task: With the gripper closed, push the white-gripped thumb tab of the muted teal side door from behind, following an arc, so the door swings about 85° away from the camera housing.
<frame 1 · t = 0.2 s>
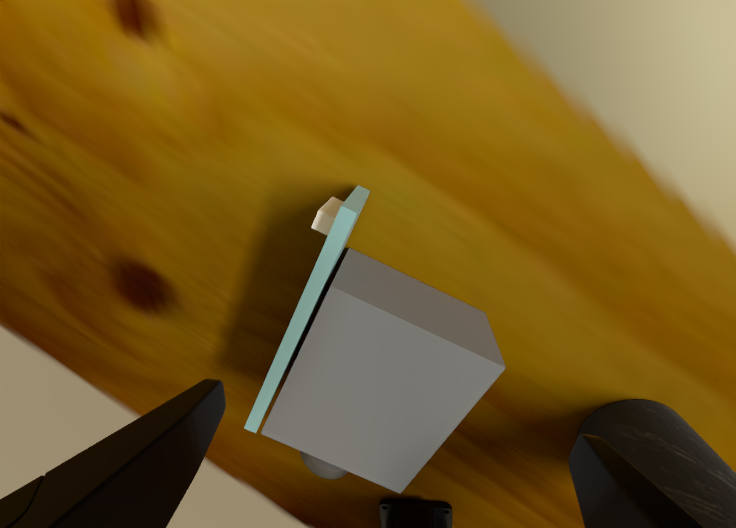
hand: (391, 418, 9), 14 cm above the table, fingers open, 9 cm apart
travel mug: (627, 433, 25), on the table
camera housing: (378, 346, 25), on the table
side door: (297, 310, 21), point 3 cm above the table, hinge at 0.0°
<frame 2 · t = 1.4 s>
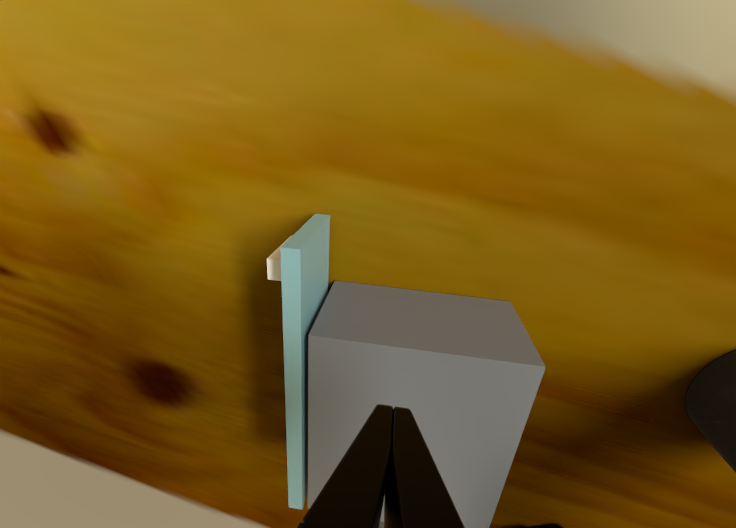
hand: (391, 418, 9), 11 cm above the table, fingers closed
camera housing: (408, 373, 22), on the table
side door: (299, 366, 19), point 3 cm above the table, hinge at 0.0°
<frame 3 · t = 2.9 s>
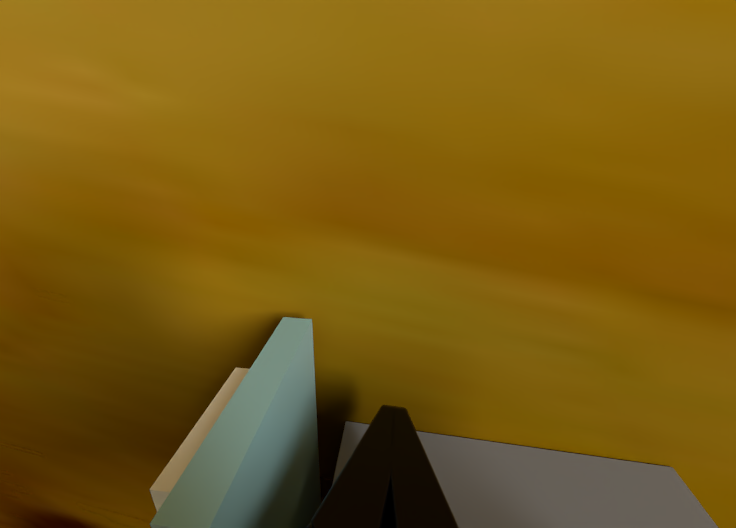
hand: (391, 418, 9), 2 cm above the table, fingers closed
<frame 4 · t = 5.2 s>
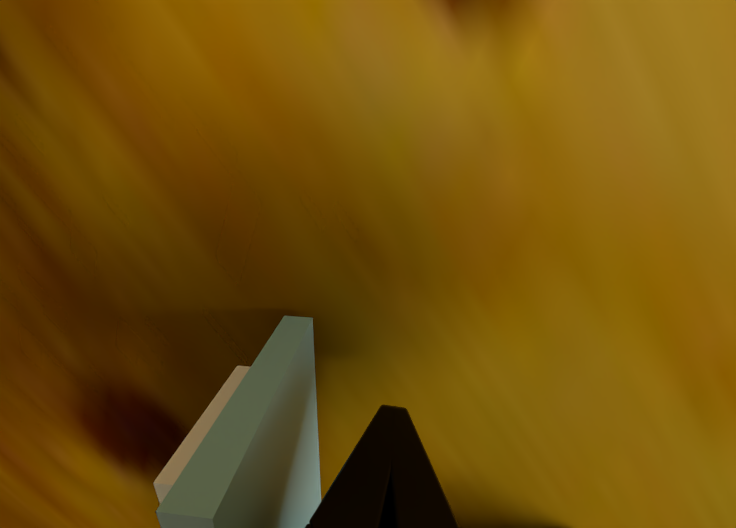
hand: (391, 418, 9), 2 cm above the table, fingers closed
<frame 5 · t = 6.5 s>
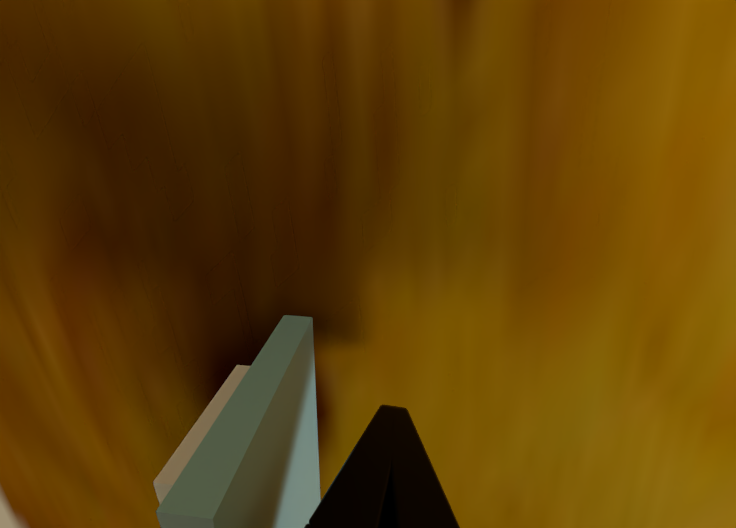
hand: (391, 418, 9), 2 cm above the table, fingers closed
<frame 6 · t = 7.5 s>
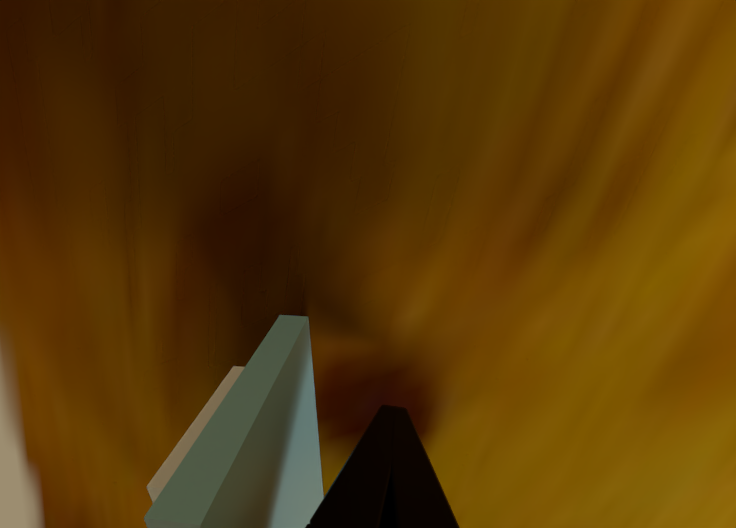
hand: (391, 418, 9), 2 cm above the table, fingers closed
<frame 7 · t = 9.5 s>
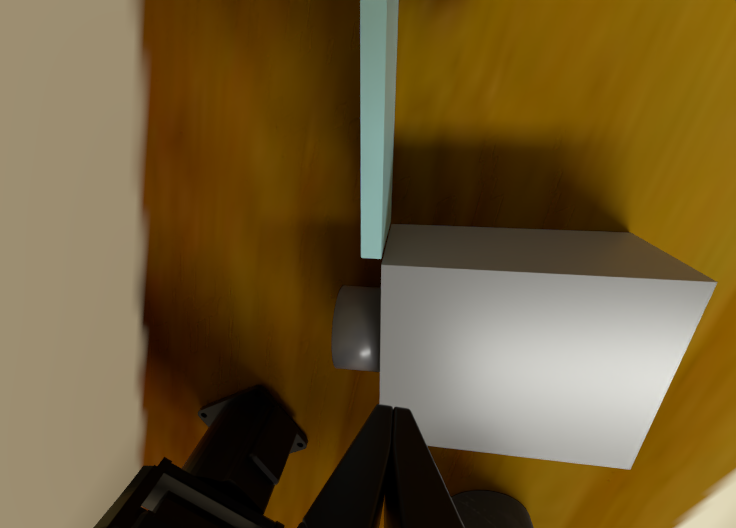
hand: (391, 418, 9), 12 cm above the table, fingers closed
travel mug: (483, 515, 28), on the table
camera housing: (492, 309, 20), on the table
side door: (368, 31, 13), point 3 cm above the table, hinge at 89.4°
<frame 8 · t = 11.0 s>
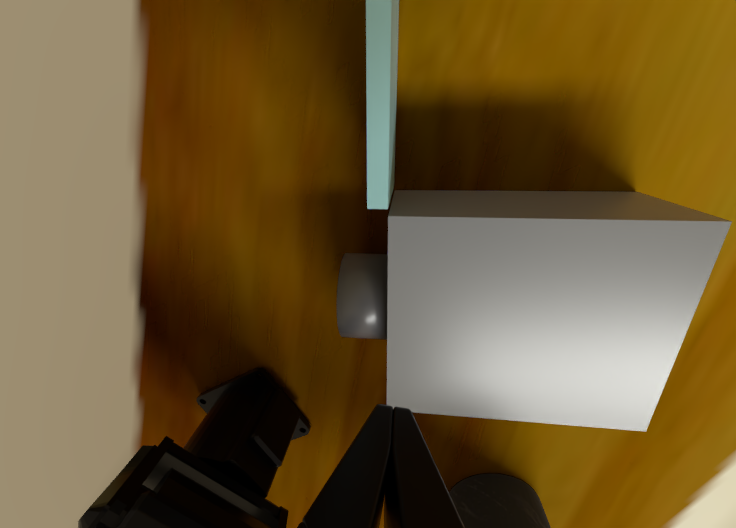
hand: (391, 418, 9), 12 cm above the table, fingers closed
travel mug: (491, 501, 27), on the table
camera housing: (498, 278, 20), on the table
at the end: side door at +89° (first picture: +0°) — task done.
